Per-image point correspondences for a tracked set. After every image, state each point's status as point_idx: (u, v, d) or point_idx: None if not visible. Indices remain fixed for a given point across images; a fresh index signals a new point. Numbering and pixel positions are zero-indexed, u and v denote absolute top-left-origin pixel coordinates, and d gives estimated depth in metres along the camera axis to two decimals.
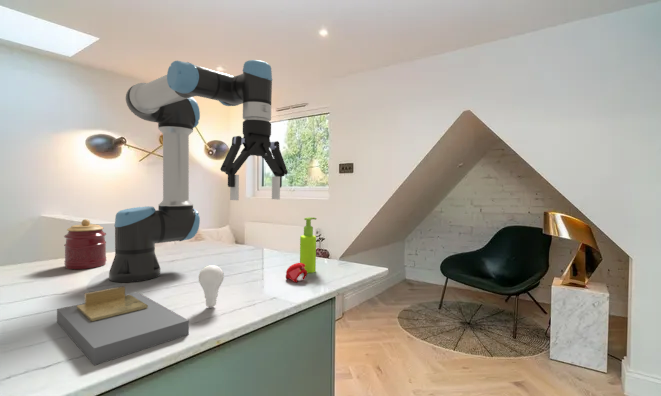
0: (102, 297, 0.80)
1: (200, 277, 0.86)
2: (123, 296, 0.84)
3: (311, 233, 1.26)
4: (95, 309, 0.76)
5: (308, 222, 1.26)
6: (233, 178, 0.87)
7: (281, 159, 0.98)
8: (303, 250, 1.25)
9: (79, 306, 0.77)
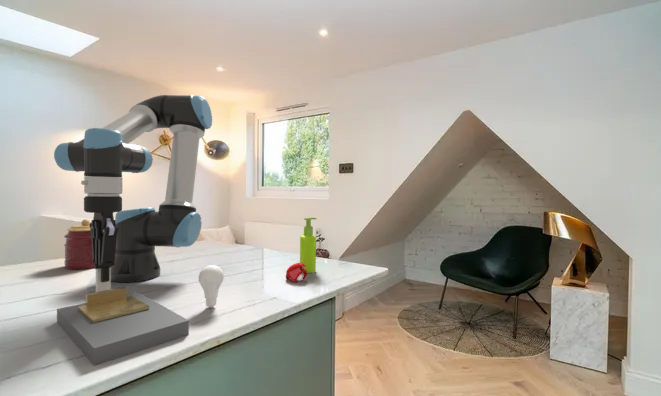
0: (103, 298, 0.80)
1: (200, 277, 0.86)
2: (124, 297, 0.83)
3: (311, 233, 1.26)
4: (96, 310, 0.75)
5: (308, 222, 1.26)
6: None
7: (102, 248, 0.77)
8: (303, 250, 1.25)
9: (80, 307, 0.77)
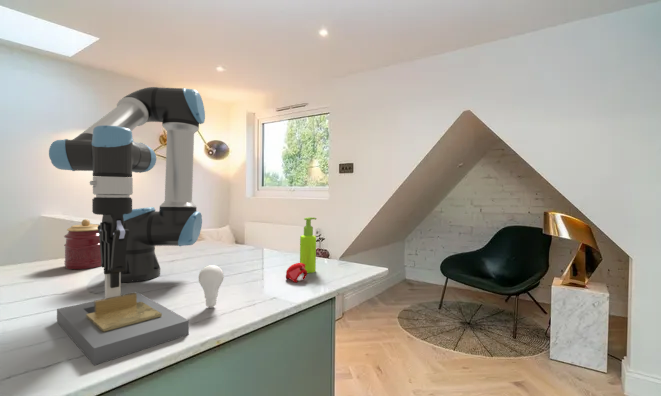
0: (113, 305, 0.76)
1: (200, 277, 0.86)
2: (135, 303, 0.79)
3: (311, 233, 1.26)
4: (106, 318, 0.71)
5: (308, 222, 1.26)
6: None
7: (112, 252, 0.73)
8: (303, 250, 1.25)
9: (89, 315, 0.72)
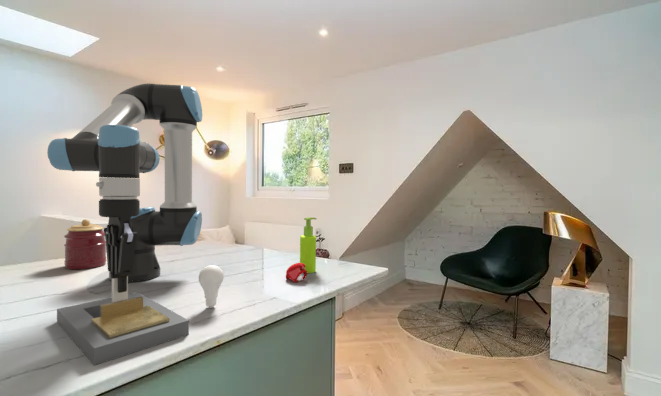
0: (119, 309, 0.73)
1: (200, 277, 0.86)
2: (141, 307, 0.76)
3: (311, 233, 1.26)
4: (112, 323, 0.68)
5: (308, 222, 1.26)
6: None
7: (120, 256, 0.71)
8: (303, 250, 1.25)
9: (94, 319, 0.70)
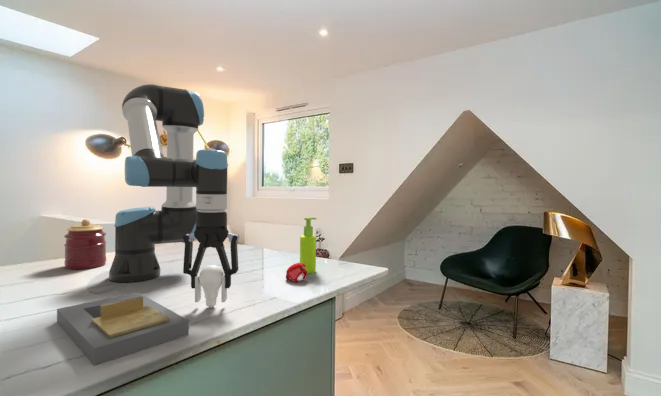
0: (119, 309, 0.73)
1: (200, 277, 0.86)
2: (141, 307, 0.76)
3: (311, 233, 1.26)
4: (112, 323, 0.68)
5: (308, 222, 1.26)
6: (194, 280, 0.87)
7: (233, 256, 0.87)
8: (303, 250, 1.25)
9: (94, 319, 0.70)
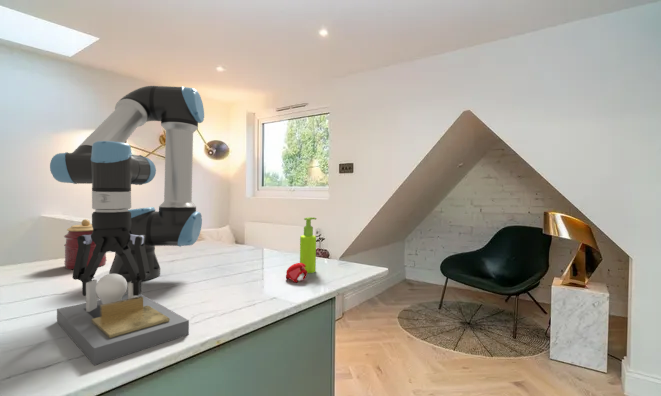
0: (119, 309, 0.73)
1: (96, 288, 0.76)
2: (141, 307, 0.76)
3: (311, 233, 1.26)
4: (112, 323, 0.68)
5: (308, 222, 1.26)
6: (86, 286, 0.77)
7: (139, 259, 0.77)
8: (303, 250, 1.25)
9: (94, 319, 0.70)
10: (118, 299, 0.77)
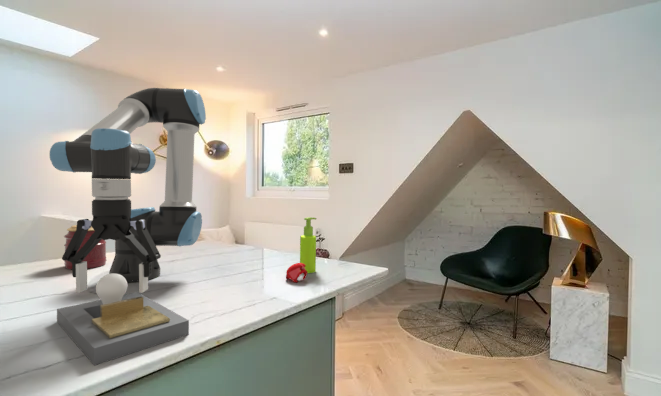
0: (119, 309, 0.73)
1: (96, 287, 0.76)
2: (141, 307, 0.76)
3: (311, 233, 1.26)
4: (113, 323, 0.68)
5: (308, 222, 1.26)
6: (75, 267, 0.77)
7: (145, 242, 0.77)
8: (303, 250, 1.25)
9: (94, 320, 0.70)
10: (118, 299, 0.77)
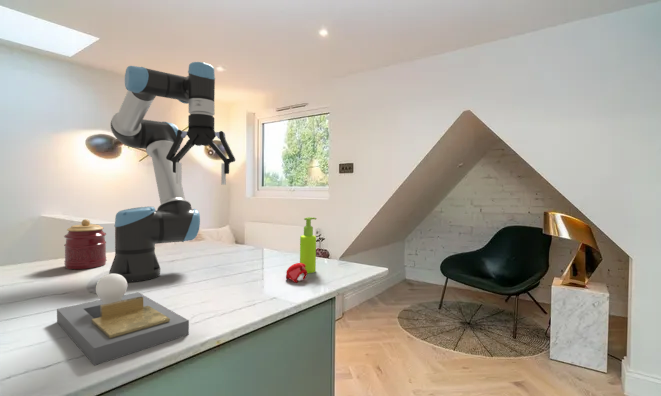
0: (119, 309, 0.73)
1: (96, 287, 0.76)
2: (141, 307, 0.76)
3: (311, 233, 1.26)
4: (113, 323, 0.68)
5: (308, 222, 1.26)
6: (175, 165, 1.05)
7: (226, 147, 1.05)
8: (303, 250, 1.25)
9: (94, 320, 0.70)
10: (118, 299, 0.77)
